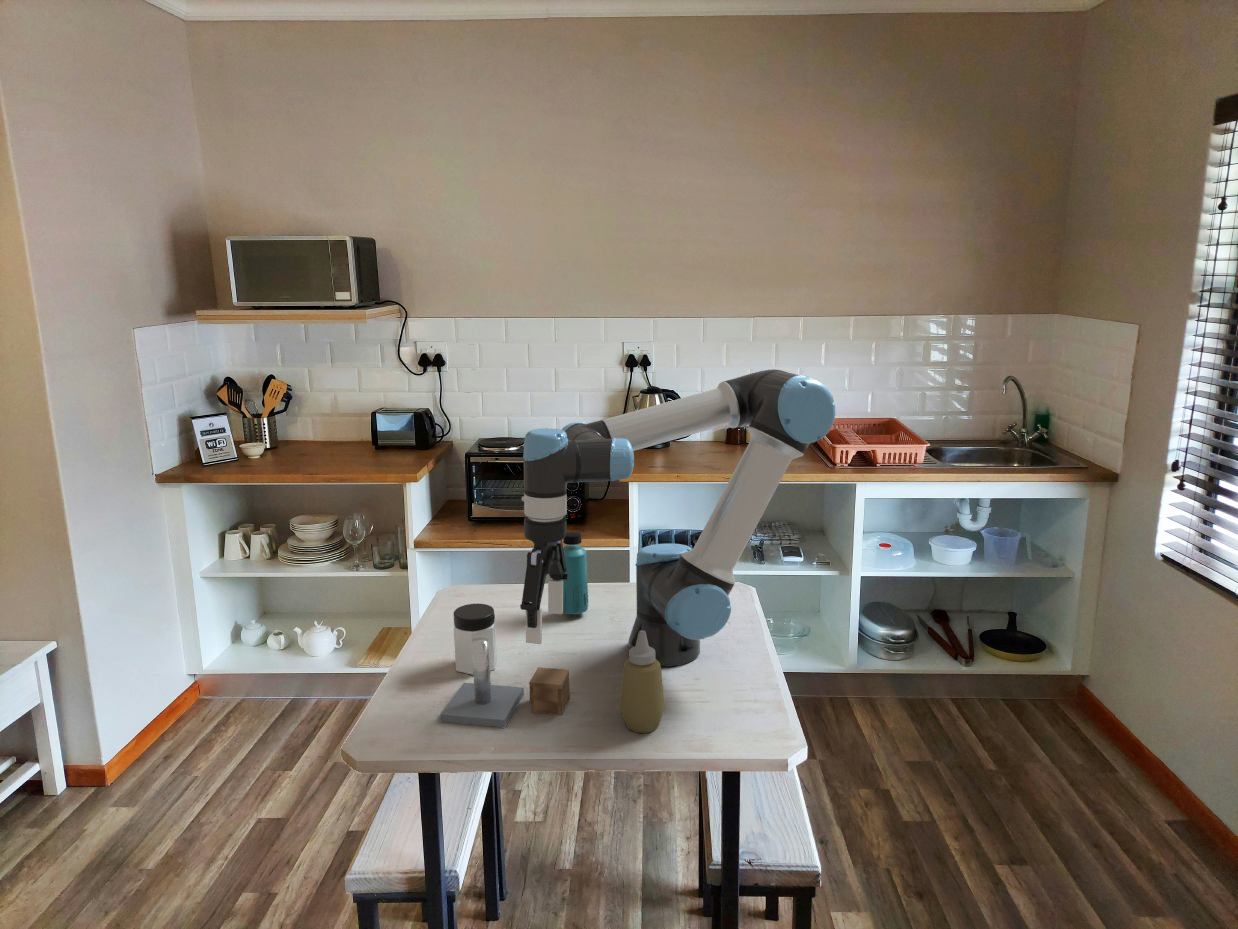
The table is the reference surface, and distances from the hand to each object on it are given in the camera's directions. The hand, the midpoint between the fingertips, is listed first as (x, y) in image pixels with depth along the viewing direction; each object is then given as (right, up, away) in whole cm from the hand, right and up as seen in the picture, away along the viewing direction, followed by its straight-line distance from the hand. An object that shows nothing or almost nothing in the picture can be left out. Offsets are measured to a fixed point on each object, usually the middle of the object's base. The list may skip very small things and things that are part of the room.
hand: (545, 627), depth 158 cm
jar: (-16, -11, +19) cm, 27 cm away
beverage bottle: (+3, -5, +43) cm, 43 cm away
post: (-12, -14, +2) cm, 18 cm away
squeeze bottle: (+18, -17, -4) cm, 25 cm away
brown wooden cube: (+1, -15, +3) cm, 15 cm away
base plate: (-12, -15, +2) cm, 19 cm away
